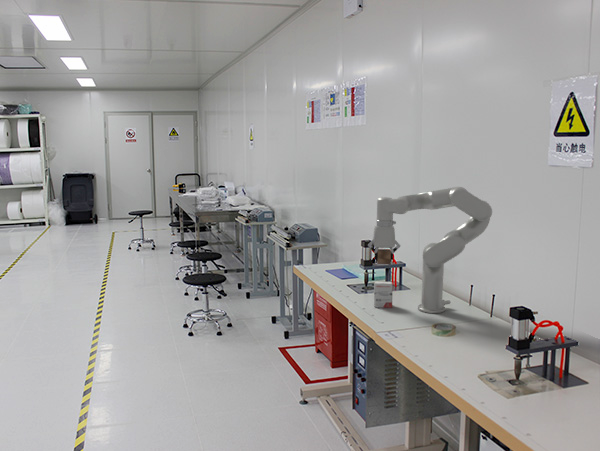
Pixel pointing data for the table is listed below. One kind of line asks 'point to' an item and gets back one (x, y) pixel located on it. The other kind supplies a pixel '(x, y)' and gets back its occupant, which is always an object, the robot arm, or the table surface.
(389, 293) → the ink box
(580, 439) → the table surface
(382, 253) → the walnut block
